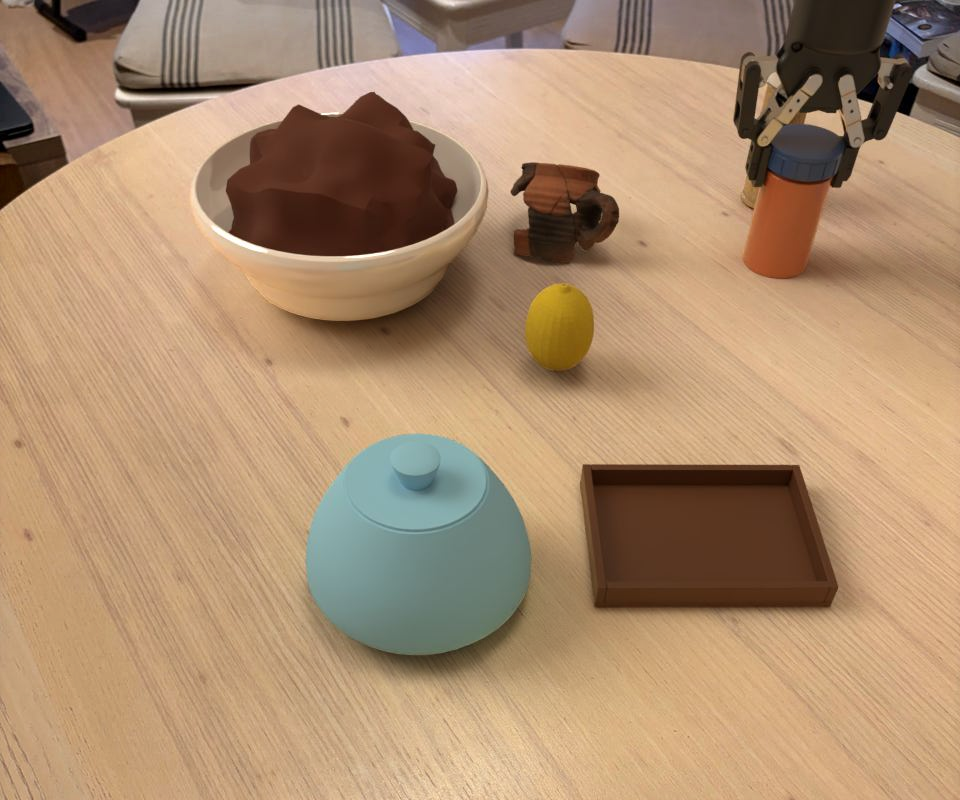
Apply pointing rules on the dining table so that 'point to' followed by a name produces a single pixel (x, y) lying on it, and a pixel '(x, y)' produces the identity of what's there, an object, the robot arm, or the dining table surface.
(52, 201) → the dining table surface
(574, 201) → the pottery mug
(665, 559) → the tray
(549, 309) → the lemon
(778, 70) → the robot arm
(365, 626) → the sugar bowl
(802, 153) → the lid
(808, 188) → the jar
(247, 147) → the bowl of chocolate mousse
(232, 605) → the dining table surface
